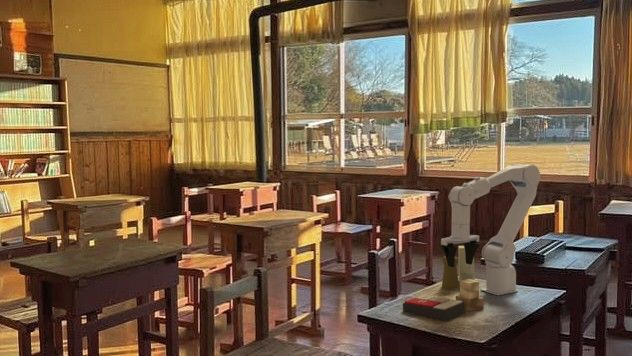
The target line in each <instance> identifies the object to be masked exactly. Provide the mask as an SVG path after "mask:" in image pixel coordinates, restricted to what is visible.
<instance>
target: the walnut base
mask: <svg viewBox="0 0 632 356" xmlns="http://www.w3.org/2000/svg"><path fill="white" fill-rule="evenodd" d="M455 300H459V301H462V302H464V304H465V312H471V311H477V310H482V309H483V310H484V308H485V307H484V306H485V302H484V301H485V299H484V297H481V296H479V298H475V299H470V300H469V299H466V298H463V297H460V294H459V295H455Z"/></svg>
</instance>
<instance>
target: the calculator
mask: <svg viewBox="0 0 632 356" xmlns="http://www.w3.org/2000/svg"><path fill="white" fill-rule="evenodd" d="M402 312H403V313H405V314H410V315H415V316H420V317H423V318H430V319H432V320H437V321H440V322H445V323H446V322H448V321H450V320H451V321H452V319H455V318H458V317H460V316H462V315H464V314H466V310H465V304H464V302H462V301H459V300H456V299H451V298H449V297H442V296H435V295H428V294H421V295H418V296H416V297H414V298H411V299H407V300H404V302H403V303H402Z"/></svg>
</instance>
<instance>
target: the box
mask: <svg viewBox="0 0 632 356" xmlns="http://www.w3.org/2000/svg"><path fill="white" fill-rule="evenodd" d="M457 258H458V264H457V267H458V280H459V283H460V281H461V280H466V279H472V280H475V277H476V276H475V257H474V258H473V262H472V265H470V264H466V260H465V248H464V245H458V246H457Z"/></svg>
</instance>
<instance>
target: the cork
mask: <svg viewBox="0 0 632 356" xmlns="http://www.w3.org/2000/svg"><path fill="white" fill-rule="evenodd" d="M442 263H443V265H444V266H443V275H442V282H441V288H442V289H444V290H458V289H460V282H459V272H458V268H457V267H458V256H456V255H455V264H454V267H450V266H448V263H447V259H446V256H445V255H444V256H443V258H442Z"/></svg>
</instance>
